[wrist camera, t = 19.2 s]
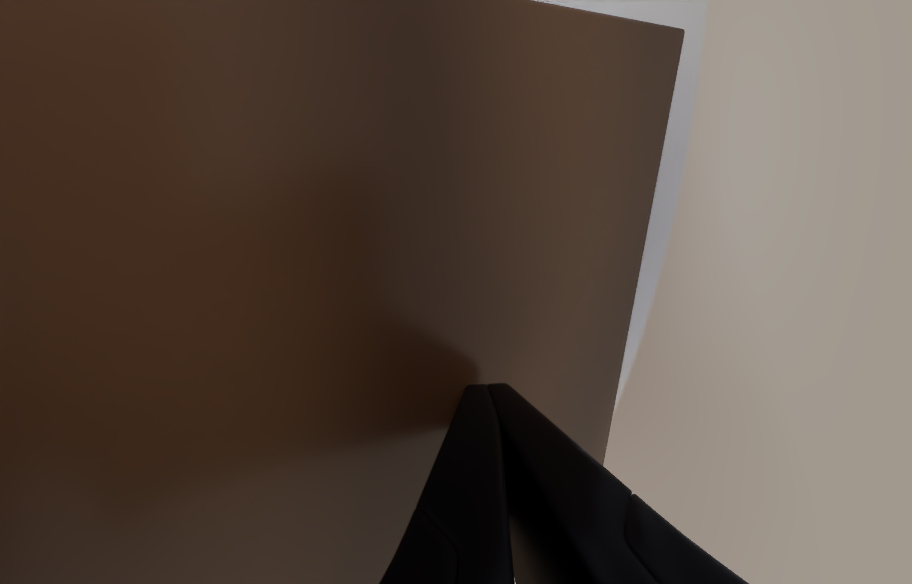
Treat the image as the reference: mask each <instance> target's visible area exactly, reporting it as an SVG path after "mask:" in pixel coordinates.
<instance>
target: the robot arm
mask: <svg viewBox="0 0 912 584" xmlns="http://www.w3.org/2000/svg"><path fill="white" fill-rule="evenodd" d="M631 495H632V496H631ZM514 578H515V582H516V584H748V583H747V582H746V581H744V580H743V579H742V578H740V577H739V576H738V575H736V574H735V573H734V572H732V571H731V570H729V569H728V568H727V567H725V566H724V565H723V564H721V563H720V562H719V561H717V560H716V559H715V558H713V557H712V556H711V555H709V554H708V553H707V552H706V551H704V550H703V549H702V548H700V547H699V546H698V545H696V544H695V543H694V542H692V541H691V540H690V539H689V538H687V537H686V536H684V535H683V534H682V533H681V532H680V531H679V530H677V529H676V528H675V527H674V526H672V525H671V524H670V523H669V522H668V521H666V520H665V519H664V518H663V517H662V516H660V515H659V514H658V513H657V512H656V511H654V510H653V509H652V508H651V507H650V506H648V505H647V504H646V503H645V502H644V501H643V500H642V499H640V498H639V497H638V496H637V495H636V494H632V492H631V490H630V489H629V488H628V487H626V486H625V485H624V484H623V483H622V482H621V481H620V480H618V479H617V478H616V477H615V476H614V475H612V474H611V473H610V472H609V471H608V470H607V469H606V468H604V467H603V466H602V465H601V464H600V463H599V462H598V461H596V460H595V459H594V458H593V457H592V456H591V455H590V454H588V453H587V452H586V451H585V450H584V449H583V448H581V447H580V446H579V445H578V444H577V443H576V442H575V441H573V440H572V439H571V438H570V437H569V436H568V435H567V434H565V433H564V432H563V431H562V430H561V429H560V428H558V427H557V426H556V425H555V424H554V423H553V422H552V421H550V420H549V419H548V418H547V417H546V416H545V415H543V414H542V413H541V412H540V411H539V410H538V409H537V408H535V407H534V406H533V405H532V404H531V403H530V402H528V401H527V400H526V399H525V398H524V397H523V396H522V395H520V394H519V393H518V392H517V391H516V390H515V389H514V388H512V387H511V386H510V385H509V384H507V383H490V384H487V385H486V384H469V385H467V386H466V387H465V390H464V392H463V394H462V397H461V399H460V402H459V404H458V406H457V409H456V411H455V414H454V416H453V418H452V421H451V423H450V426H449V428H448V430H447V433H446V435H445V438H444V440H443V442H442V445H441V447H440V450H439V452H438V455H437V457H436V459H435V462H434V464H433V467H432V469H431V471H430V474H429V476H428V479H427V481H426V483H425V486H424V488H423V491H422V493H421V495H420V498H419V500H418V503H417V505H416V509H415V510H414V512H413V514H412V516H411V519H410V521H409V523H408V526H407V528H406V530H405V533H404V535H403V537H402V539H401V541H400V543H399V546H398V548H397V550H396V552H395V554H394V557H393V559H392V560H391V562H390V564H389V566H388V568H387V570H386V572H385V573H384V575H383V577H382V579H381V581H380V583H379V584H515V583H514Z"/></svg>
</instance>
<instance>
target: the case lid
mask: <svg viewBox="0 0 912 584" xmlns="http://www.w3.org/2000/svg"><path fill="white" fill-rule="evenodd" d="M683 38H684V30H683V29H680V28H675V27H670V26H664V25H659V24H654V23H649V22H643V21H638V20H633V19H628V18H623V17H617V16H612V15H607V14H602V13H596V12H591V11H586V10H581V9H575V8H570V7H565V6H560V5H555V4H549V3H544V2H539V1H534V0H0V584H379V583H380V581H381V579H382V577H383V575H384V573H385V572H386V570H387V568H388V566H389V564H390V562H391V560H392V559H393V557H394V554H395V552H396V550H397V548H398V546H399V543H400V541H401V539H402V537H403V535H404V533H405V530H406V528H407V526H408V523H409V521H410V519H411V516H412V514H413V512H414V510H415V509H416V505H417V503H418V500H419V498H420V495H421V493H422V491H423V488H424V486H425V483H426V481H427V479H428V476H429V474H430V471H431V469H432V467H433V464H434V462H435V459H436V457H437V455H438V452H439V450H440V447H441V445H442V442H443V440H444V438H445V435H446V433H447V430H448V428H449V426H450V423H451V421H452V418H453V416H454V414H455V411H456V409H457V406H458V404H459V402H460V399H461V397H462V394H463V392H464V390H465V387H466V386H467V385H469V384H486V385H487V384H490V383H507V384H509V385H510V386H511V387H512V388H514V389H515V390H516V391H517V392H518V393H519V394H520V395H522V396H523V397H524V398H525V399H526V400H527V401H528V402H530V403H531V404H532V405H533V406H534V407H535V408H537V409H538V410H539V411H540V412H541V413H542V414H543V415H545V416H546V417H547V418H548V419H549V420H550V421H552V422H553V423H554V424H555V425H556V426H557V427H558V428H560V429H561V430H562V431H563V432H564V433H565V434H567V435H568V436H569V437H570V438H571V439H572V440H573V441H575V442H576V443H577V444H578V445H579V446H580V447H581V448H583V449H584V450H585V451H586V452H587V453H588V454H590V455H591V456H592V457H593V458H594V459H595V460H596V461H598V462H599V463H600V464H601V465H602V466H603V463H604V458H605V452H606V446H607V442H608V436H609V431H610V426H611V420H612V415H613V410H614V405H615V399H616V394H617V389H618V383H619V378H620V373H621V367H622V362H623V357H624V351H625V346H626V341H627V336H628V330H629V325H630V320H631V314H632V309H633V304H634V298H635V293H636V288H637V282H638V277H639V272H640V267H641V261H642V256H643V251H644V245H645V240H646V235H647V229H648V224H649V219H650V213H651V208H652V203H653V198H654V192H655V187H656V182H657V176H658V171H659V166H660V160H661V155H662V150H663V144H664V139H665V134H666V129H667V123H668V118H669V113H670V107H671V102H672V97H673V91H674V86H675V81H676V75H677V70H678V65H679V60H680V54H681V49H682V44H683Z"/></svg>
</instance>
